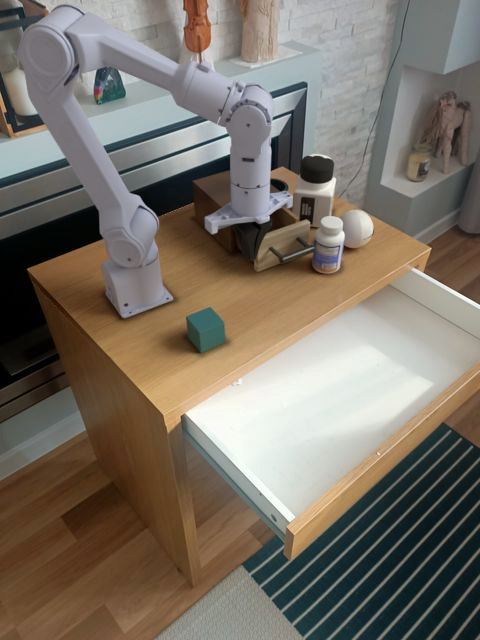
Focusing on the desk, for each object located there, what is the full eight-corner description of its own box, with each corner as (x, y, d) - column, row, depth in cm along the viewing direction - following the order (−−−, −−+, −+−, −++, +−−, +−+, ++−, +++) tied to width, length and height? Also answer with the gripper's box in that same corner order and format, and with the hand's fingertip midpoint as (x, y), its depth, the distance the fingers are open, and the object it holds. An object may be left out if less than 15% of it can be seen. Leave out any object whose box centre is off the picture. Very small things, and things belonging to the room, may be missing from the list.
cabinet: (284, 234, 112) (286, 196, 106) (231, 253, 107) (230, 214, 101) (246, 202, 120) (246, 165, 114) (195, 218, 115) (192, 180, 109)
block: (201, 353, 88) (199, 332, 85) (187, 336, 91) (185, 316, 87) (225, 342, 90) (224, 322, 87) (211, 326, 92) (210, 306, 89)
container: (328, 229, 114) (335, 170, 104) (291, 224, 115) (295, 165, 105) (332, 210, 119) (339, 152, 110) (296, 205, 120) (301, 147, 111)
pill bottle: (321, 254, 108) (326, 209, 101) (345, 264, 105) (352, 219, 99) (306, 267, 104) (310, 222, 98) (330, 278, 102) (337, 233, 95)
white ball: (355, 260, 106) (361, 227, 101) (325, 244, 110) (329, 211, 105) (386, 240, 111) (393, 207, 106) (356, 225, 115) (362, 193, 110)
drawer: (322, 265, 104) (326, 234, 99) (272, 285, 99) (273, 254, 94) (268, 220, 114) (269, 190, 109) (220, 236, 110) (219, 205, 105)
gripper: (221, 205, 74) (223, 285, 84) (307, 177, 80) (300, 255, 90) (195, 182, 78) (200, 261, 88) (279, 158, 84) (275, 234, 94)
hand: (249, 256), depth 89 cm, fingers closed
